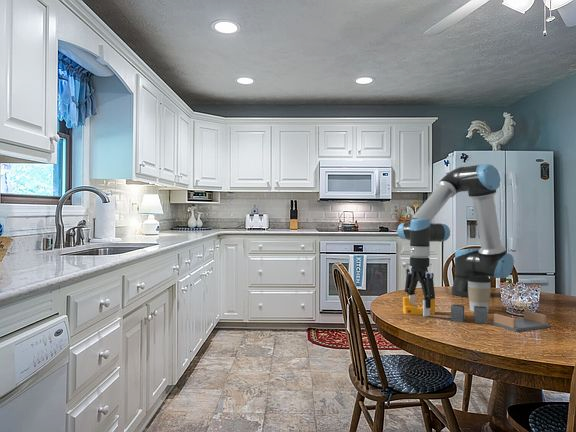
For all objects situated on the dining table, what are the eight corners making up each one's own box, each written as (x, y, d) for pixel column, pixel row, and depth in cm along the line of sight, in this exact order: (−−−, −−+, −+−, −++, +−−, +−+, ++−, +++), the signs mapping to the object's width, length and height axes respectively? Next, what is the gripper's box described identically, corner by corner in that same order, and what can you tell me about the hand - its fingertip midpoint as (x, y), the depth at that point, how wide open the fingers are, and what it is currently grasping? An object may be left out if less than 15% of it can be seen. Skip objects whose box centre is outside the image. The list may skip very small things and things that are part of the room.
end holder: (523, 320, 147) (523, 309, 147) (549, 327, 137) (549, 315, 137) (491, 324, 141) (491, 313, 141) (516, 331, 132) (516, 319, 132)
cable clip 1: (451, 320, 146) (451, 305, 146) (452, 318, 148) (452, 304, 148) (462, 322, 143) (462, 307, 143) (464, 320, 146) (464, 305, 146)
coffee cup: (490, 314, 155) (490, 277, 155) (465, 311, 160) (465, 275, 160) (492, 310, 163) (492, 274, 163) (468, 307, 167) (468, 272, 167)
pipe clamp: (405, 314, 154) (405, 298, 154) (402, 312, 159) (403, 296, 159) (436, 315, 154) (436, 299, 154) (432, 312, 158) (432, 297, 158)
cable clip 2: (475, 322, 142) (475, 307, 142) (474, 320, 145) (474, 305, 145) (487, 324, 141) (487, 308, 141) (485, 321, 144) (486, 306, 144)
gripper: (396, 254, 164) (395, 308, 164) (429, 259, 145) (429, 320, 144) (410, 254, 167) (410, 307, 167) (445, 259, 147) (445, 319, 147)
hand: (419, 313), depth 155 cm, fingers open, 8 cm apart
